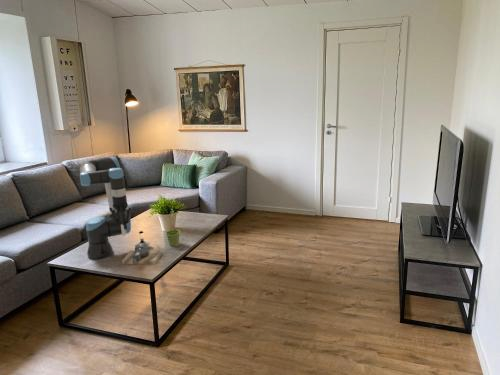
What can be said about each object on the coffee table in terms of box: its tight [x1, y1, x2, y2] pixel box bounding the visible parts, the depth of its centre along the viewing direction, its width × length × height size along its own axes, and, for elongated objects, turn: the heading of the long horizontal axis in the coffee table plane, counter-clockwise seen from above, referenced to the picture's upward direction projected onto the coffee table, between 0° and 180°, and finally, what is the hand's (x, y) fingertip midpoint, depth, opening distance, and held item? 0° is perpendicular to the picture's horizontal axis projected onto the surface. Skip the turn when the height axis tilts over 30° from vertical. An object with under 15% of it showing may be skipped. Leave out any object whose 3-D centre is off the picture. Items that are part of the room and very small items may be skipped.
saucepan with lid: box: [132, 243, 150, 262], centre depth 225 cm, size 16×8×7 cm, turn 176°
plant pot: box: [165, 229, 181, 247], centre depth 249 cm, size 9×9×9 cm
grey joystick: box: [134, 230, 151, 248], centre depth 244 cm, size 12×10×10 cm
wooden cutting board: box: [121, 250, 163, 265], centre depth 231 cm, size 20×14×2 cm
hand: (124, 234), depth 218 cm, fingers closed
